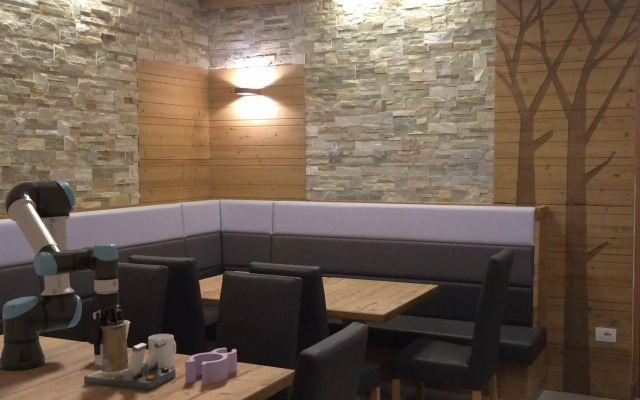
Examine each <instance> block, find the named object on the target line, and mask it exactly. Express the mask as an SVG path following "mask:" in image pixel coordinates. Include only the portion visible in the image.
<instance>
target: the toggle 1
mask: <svg viewBox="0 0 640 400" xmlns="http://www.w3.org/2000/svg"><path fill="white" fill-rule="evenodd" d="M146 349H147V343H144V342H141V343H138V344H136V345H134V346H133V347H132V352H131V356H130V361H129V363H128V365H129V369H128V370H130V371H133V377H135V376H137V375H139V374H140V373H141V367H142V363H144V359H145V358H144V357H145V353H146Z"/></svg>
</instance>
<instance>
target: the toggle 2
mask: <svg viewBox="0 0 640 400" xmlns="http://www.w3.org/2000/svg"><path fill="white" fill-rule="evenodd" d="M166 343H167V341H166V340H164V339H162V340H160V341H158V342H155V344H154V346H153V348H152V350H151V352H150V354H149V353H148V356H147V358H146V360H145V362H144V363H148V365H149V369H151V368H153V367H155V366H156V363H157V361H158V359H159V357H160V355H161V353H162V351H163V349H164V347H165V345H166Z"/></svg>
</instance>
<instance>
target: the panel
mask: <svg viewBox="0 0 640 400" xmlns="http://www.w3.org/2000/svg"><path fill="white" fill-rule="evenodd" d="M158 367H159V359H158V361H157V363H156V366H155V367H153V368H151V369H149V365H148V363H145V362H143V363H142V367H141V373H140V374H139V375H137V376H135V377H133V371H130V370H128V369H129V364H128V368H127V369H126V370H123V371H117V372H103V371H101V370H100V369H98V370H96V371H94V372H92V373H89V374H86V375H85V376H83V383H84V385H86V386H87V385H88V386H97V387H107V388H109V387H110V388H117V389H128V390H135V391H136V390H138V391H143V392H144V391H146V392H149V391H152V390H153V389H155V388H157V387H159V386H161V385H162V384H164V383H167V382H168V381H170V380H172V379H174V378H176V368H171V369H169V367H163V368H158Z"/></svg>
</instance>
